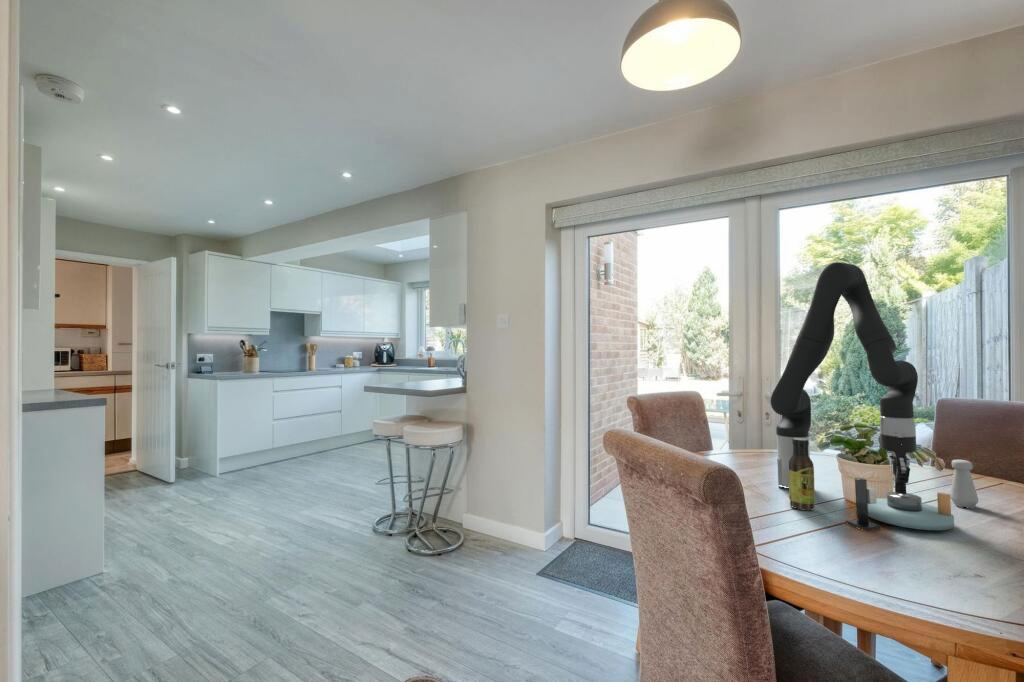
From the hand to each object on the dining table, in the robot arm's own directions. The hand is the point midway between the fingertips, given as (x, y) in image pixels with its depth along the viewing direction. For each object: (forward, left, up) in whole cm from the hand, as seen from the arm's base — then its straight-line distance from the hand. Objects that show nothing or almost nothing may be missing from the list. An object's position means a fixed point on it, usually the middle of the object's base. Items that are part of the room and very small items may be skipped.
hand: (900, 496), depth 124 cm
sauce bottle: (-23, -7, -5) cm, 25 cm away
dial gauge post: (-10, -16, -5) cm, 19 cm away
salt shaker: (+16, +15, -5) cm, 23 cm away
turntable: (0, -7, -4) cm, 8 cm away
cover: (0, -5, -2) cm, 5 cm away
